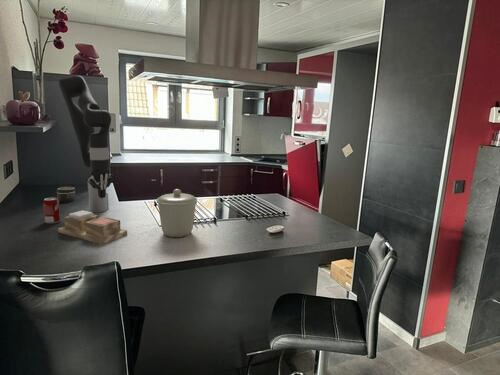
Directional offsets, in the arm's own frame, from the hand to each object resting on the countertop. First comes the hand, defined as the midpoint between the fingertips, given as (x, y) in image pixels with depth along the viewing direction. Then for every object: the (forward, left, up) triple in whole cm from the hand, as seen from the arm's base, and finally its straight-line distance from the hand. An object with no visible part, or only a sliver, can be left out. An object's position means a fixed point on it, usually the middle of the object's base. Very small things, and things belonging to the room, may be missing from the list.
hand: (102, 197), depth 152 cm
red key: (0, 0, -14) cm, 14 cm away
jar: (-33, -71, -18) cm, 80 cm away
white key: (0, -14, -12) cm, 19 cm away
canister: (-20, +25, -18) cm, 36 cm away
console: (0, -7, -18) cm, 19 cm away
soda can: (-1, -37, -18) cm, 41 cm away
